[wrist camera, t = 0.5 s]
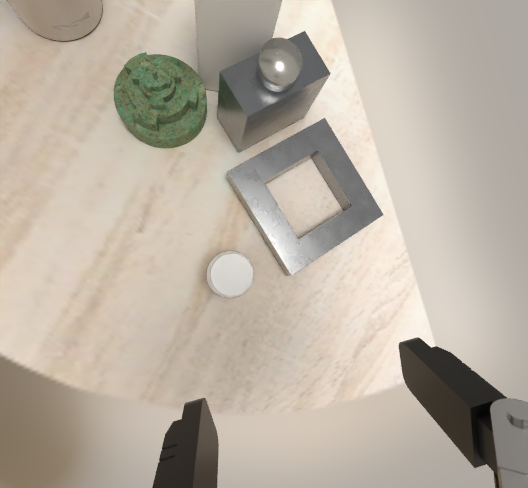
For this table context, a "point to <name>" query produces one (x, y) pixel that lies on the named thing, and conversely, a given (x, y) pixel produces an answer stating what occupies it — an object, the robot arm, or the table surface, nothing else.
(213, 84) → the milk carton
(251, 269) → the supplement bottle
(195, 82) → the decorative artifact
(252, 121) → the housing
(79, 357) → the table surface
